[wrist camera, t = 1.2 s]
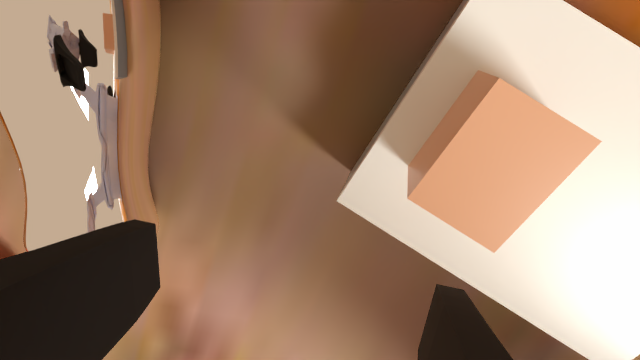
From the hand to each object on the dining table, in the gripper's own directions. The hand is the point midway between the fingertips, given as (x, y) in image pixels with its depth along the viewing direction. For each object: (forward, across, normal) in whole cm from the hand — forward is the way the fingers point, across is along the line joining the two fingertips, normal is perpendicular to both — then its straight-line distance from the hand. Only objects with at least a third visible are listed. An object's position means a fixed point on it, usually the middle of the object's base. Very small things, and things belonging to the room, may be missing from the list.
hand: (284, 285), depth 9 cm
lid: (+7, -8, -2) cm, 11 cm away
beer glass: (+7, +12, +5) cm, 15 cm away
